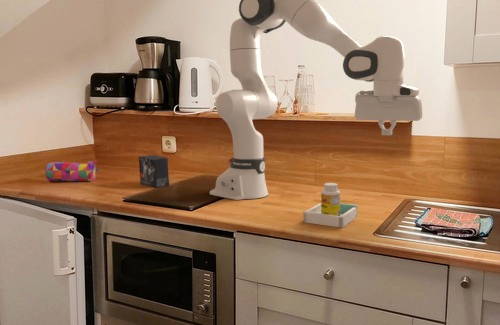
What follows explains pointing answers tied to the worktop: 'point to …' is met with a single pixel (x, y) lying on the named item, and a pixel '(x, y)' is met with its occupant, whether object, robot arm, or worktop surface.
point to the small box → (154, 171)
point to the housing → (328, 217)
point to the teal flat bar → (347, 207)
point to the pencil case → (71, 171)
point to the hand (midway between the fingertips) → (386, 134)
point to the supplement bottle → (330, 199)
